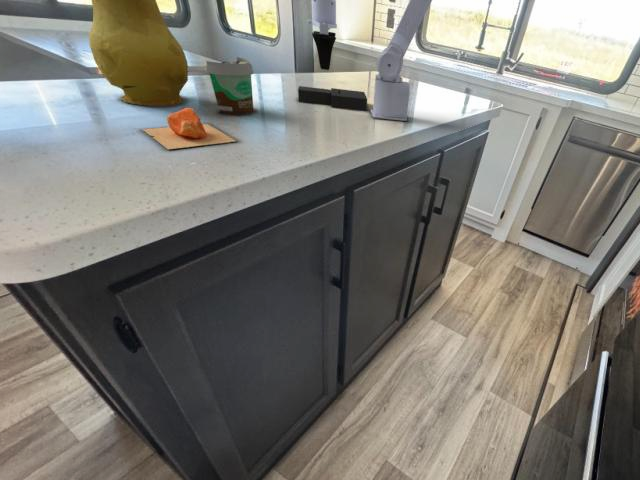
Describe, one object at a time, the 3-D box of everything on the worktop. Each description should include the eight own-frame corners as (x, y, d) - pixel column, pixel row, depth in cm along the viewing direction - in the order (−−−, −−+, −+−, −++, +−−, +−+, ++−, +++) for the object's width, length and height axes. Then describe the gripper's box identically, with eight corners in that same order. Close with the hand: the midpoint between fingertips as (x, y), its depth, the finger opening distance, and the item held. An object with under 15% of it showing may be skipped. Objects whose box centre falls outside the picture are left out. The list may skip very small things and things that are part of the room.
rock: (168, 150, 57) (159, 123, 54) (142, 130, 62) (132, 104, 60) (236, 141, 64) (231, 117, 61) (207, 123, 70) (202, 100, 67)
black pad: (338, 102, 100) (338, 90, 98) (339, 105, 97) (339, 94, 95) (299, 97, 98) (299, 85, 96) (298, 101, 94) (298, 89, 92)
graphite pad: (363, 103, 104) (364, 91, 102) (366, 110, 97) (367, 99, 95) (331, 99, 102) (331, 88, 100) (331, 107, 95) (331, 95, 93)
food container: (241, 119, 75) (232, 66, 69) (215, 114, 75) (204, 61, 69) (268, 109, 84) (262, 61, 78) (245, 104, 85) (238, 56, 78)
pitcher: (97, 105, 69) (33, -72, 53) (118, 90, 82) (72, -55, 67) (193, 112, 75) (160, -45, 60) (198, 97, 88) (172, -34, 73)
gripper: (307, -5, 83) (310, 61, 92) (304, -5, 73) (308, 69, 82) (336, 0, 85) (336, 64, 94) (337, 0, 74) (337, 73, 83)
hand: (325, 67), depth 88 cm, fingers open, 7 cm apart
